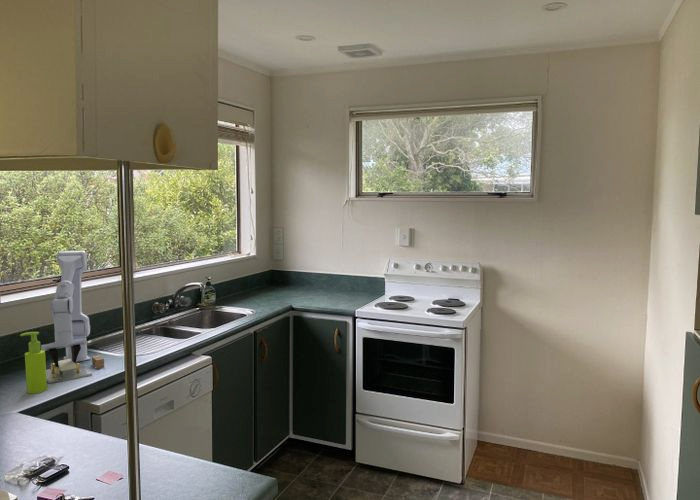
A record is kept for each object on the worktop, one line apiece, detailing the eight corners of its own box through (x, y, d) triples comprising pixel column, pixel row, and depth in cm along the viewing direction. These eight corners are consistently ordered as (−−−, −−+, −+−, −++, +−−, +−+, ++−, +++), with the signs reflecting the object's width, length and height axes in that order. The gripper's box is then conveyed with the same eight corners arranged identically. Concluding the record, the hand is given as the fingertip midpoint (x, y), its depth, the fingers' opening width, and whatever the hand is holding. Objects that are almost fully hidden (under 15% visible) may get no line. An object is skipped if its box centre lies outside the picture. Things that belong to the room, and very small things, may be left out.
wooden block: (92, 364, 212) (91, 356, 211) (100, 363, 213) (99, 355, 213) (96, 368, 207) (96, 360, 207) (104, 367, 209) (103, 358, 208)
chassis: (40, 372, 202) (39, 362, 202) (81, 365, 211) (80, 355, 210) (49, 383, 190) (48, 372, 189) (92, 375, 198) (91, 364, 198)
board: (55, 365, 202) (55, 361, 202) (70, 362, 205) (69, 358, 205) (60, 371, 195) (60, 366, 195) (76, 368, 198) (75, 364, 198)
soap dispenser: (25, 389, 184) (21, 331, 182) (48, 386, 187) (45, 329, 185) (21, 394, 179) (18, 335, 177) (45, 392, 181) (42, 333, 179)
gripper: (43, 335, 191) (45, 373, 192) (87, 329, 200) (89, 365, 201) (39, 332, 197) (41, 368, 198) (82, 326, 206) (84, 361, 207)
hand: (65, 366), depth 200 cm, fingers closed on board, 5 cm apart
